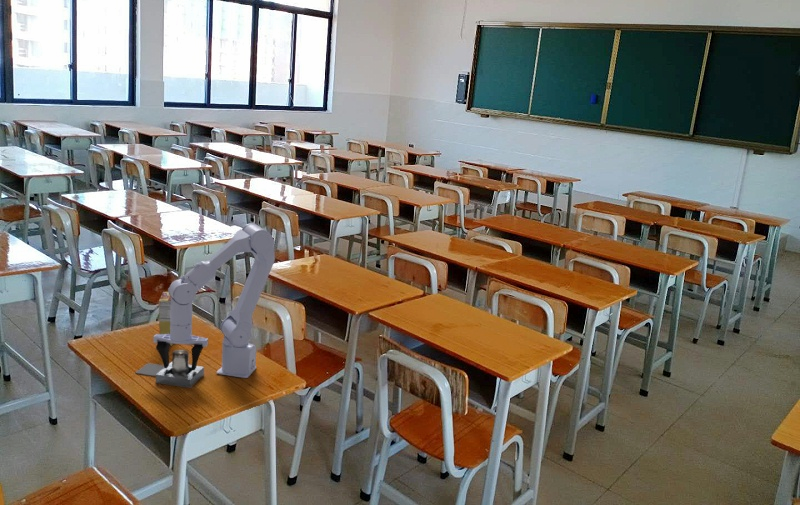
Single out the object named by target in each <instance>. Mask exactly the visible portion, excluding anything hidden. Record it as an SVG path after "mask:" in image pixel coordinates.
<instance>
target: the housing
mask: <svg viewBox="0 0 800 505" xmlns="http://www.w3.org/2000/svg"><path fill="white" fill-rule="evenodd" d="M204 376H205V367H204V366H200V365H197V366H196V369H195V370H192V364H189V374H188V375H187V376H179V375H173V374H172V361H171V362H169V366H168V367H167V368H163V369H162V370H161V371H160V372H158V373H157V374H156V377H155V384H161V385H169V386H174V387H181V388H187V389H191V388H193V386H194V385H195V384H196V383H197V382H198V381H199V380H200V379H201V378H202V377H204Z"/></svg>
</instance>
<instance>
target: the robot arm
mask: <svg viewBox="0 0 800 505" xmlns="http://www.w3.org/2000/svg"><path fill="white" fill-rule="evenodd" d="M275 242H276V241H275V240H274V238H273V236H272V234H271V233H270V232H269V230H266V229H264V228H262V227H261V226H259V225H258V224H257V223H255V222H253V223H252V222H250V223H247V224H244V226H243V227H242V228H241V229H239V230H237V231H236V232H235V233H234V235H233V236H232V237H231V238H230V239H229V240H228V241H227V242H226V243H225V244H224V245H223V246H222V247H221V248H219V249H218V251H216V252H215V254H214V255H212V257H210V258H209V259H208V260H201V261H199V262H195V263H193V267H192V268H191V269H190V270H189V271H188V272H187V273H185V274H184V275H183V274H182V275H180V277H179V278H178V279H175V280H173V281H172V282H171V284H170V285H169V287H168V288H167V292H169V294H170V296H171V297H172V298H171V310H170V334H159V333H157V334H154V335H153V337H152V338H153V341H152V342H153V344H156V346H155V347H156V348H155V349H156V350H157V352H158V354H159V355H160V358H161V360H162V365H164V368H167V367H168V366H169V363H170V349H171V348H170V347H171V346H170V343H173V345H174V344H175V345H184V346H185V345H187V346H192V348H191V350H190V351H191V365H192V370H195V369H196V366H198V365H197V364H198V361H199V358H200V355H201V353H202V351H203V348H207V346H208V345H209V339H208V337H207V338H206V337H202V336H197V335H194V334H192V333H193V331H192V330H193V302H194V300H195V298H196V295H197V293H198V292H199V291H200V290H201V289H203V287H205V286H206V285H207V284H208V283H210V281H212V280H213V279H214V278H215V277H216V274H217V270H219V268H221V267H222V266H223V265H225V264H226V263H227V262H229V261H230V260H231V259H232V258H234V257H235V256H236V255H237V254H239V253H251V254H252V256H253V257H254V260H253V261H254V262H253V263H252V266H251V268H250V270H249V273H248V275H247V278H246V281H245V283H244V284H243V288H242V290H241V292H240V295H239V297H238V300H237V302H236V304H235V307H234V308H233V309H231V310H230V311H229V312H228V314H227V316H226V318H224V319H223V320H222V322H221V324H220V332H221V333H222V334H223V335H224V336H223V339H222V345H221V346H222V347H221V350H222V352H221V367H220V368H219V369H217V371H216V374H217V375H223V376H229V377H237V378H243V379H247V378H249V377H250V376H251V374H253V373H254V371H256V369H257V347H256V345H255V344H252V343H250V340H251V338H252V329H253V314H254V312H255V309H256V306H257V304H258V301H259V300H260V298H261V295H262V292H263V290H264V287H265V285H266V283H267V280H268V277H269V276H270V273H271V270H272V268H273V267H274V266H273V265H274V263H275V260H276V255H275V247H274V246H275V245H274V244H275Z"/></svg>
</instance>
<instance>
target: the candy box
mask: <svg viewBox="0 0 800 505" xmlns="http://www.w3.org/2000/svg"><path fill="white" fill-rule="evenodd" d="M171 298H172V297H171V296H170V294H169V292H168V291H163V292H162V294H161V296H160V298H159V300H158V314H159V315H158V316H159V318H158V322H159V323H158V324H159V326H158V327H159V328H158V329H159V333H158V334H170V310H171ZM173 345H174V344H173V343H170V347H172V346H173Z"/></svg>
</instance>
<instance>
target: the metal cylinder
mask: <svg viewBox="0 0 800 505" xmlns="http://www.w3.org/2000/svg"><path fill="white" fill-rule="evenodd" d="M171 354H172V360H171V362H172V374H173V375H179V376H187V375H188V374H189V365H190V364H189V363H190V351H189V350H187V349H176V350H174V351H172V353H171Z"/></svg>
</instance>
